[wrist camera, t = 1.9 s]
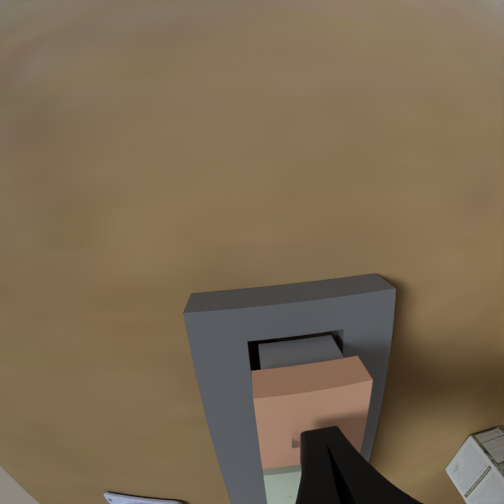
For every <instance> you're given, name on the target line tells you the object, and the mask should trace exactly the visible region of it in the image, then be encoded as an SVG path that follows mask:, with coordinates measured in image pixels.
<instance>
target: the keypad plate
mask: <svg viewBox="0 0 504 504" xmlns="http://www.w3.org/2000/svg"><path fill="white" fill-rule="evenodd" d="M395 297H396V288H395V287H394V286H392V285H391V284H390V283H388V282H387V281H386V280H384V279H383V278H382V277H380V276H379V275H377V274H376V273H375V274H368V275H360V276H353V277H345V278H337V279H329V280H320V281H312V282H303V283H294V284H285V285H276V286H267V287H257V288H247V289H237V290H226V291H215V292H204V293H192V294H191V295H190V298H189V300H188V303H187V305H186V307H185V310H184V312H183V314H184V320H185V325H186V330H187V335H188V340H189V345H190V350H191V354H192V359H193V364H194V368H195V373H196V377H197V382H198V386H199V390H200V394H201V398H202V403H203V407H204V411H205V415H206V419H207V422H208V426H209V430H210V434H211V437H212V441H213V445H214V448H215V452H216V455H217V459H218V462H219V466H220V469H221V472H222V476H223V479H224V482H225V485H226V489H227V492H228V495H229V498H230V501H231V504H267V498H266V491H265V484H264V477H263V469H262V462H261V455H260V447H259V440H258V432H257V424H256V417H255V409H254V401H253V388H252V373H251V371H252V367H251V358H250V349H249V341H256V340H265V339H275V338H283V337H291V336H299V335H307V334H314V333H321V332H328V331H330V335H331V336H332V337H333V339H334V341H335V343H336V345H337V346H338V348H339V350H340V352H341V353H342V355H343V357H344V358H348V357H353V356H358V357H359V359H360V360H361V362H362V363H363V365H364V367H365V368H366V370H367V371H368V373H369V375H370V376H371V378H372V379H373V382H372V389H371V396H370V403H369V409H368V415H367V421H366V426H365V431H364V437H363V442H362V446H361V451H360V454H361V455H362V456H363V458H364V459H365V460H366V461H367V462H368V463H369V459H370V455H371V451H372V447H373V443H374V439H375V435H376V430H377V426H378V421H379V416H380V412H381V406H382V401H383V396H384V390H385V384H386V378H387V371H388V364H389V357H390V349H391V341H392V332H393V322H394V311H395Z"/></svg>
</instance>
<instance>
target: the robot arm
mask: <svg viewBox="0 0 504 504" xmlns="http://www.w3.org/2000/svg"><path fill="white" fill-rule="evenodd" d="M300 463H301V479H300V484H299V489H298V494H297V499H296V502H295V504H423V503H421V502H419V501H417V500H415V499H414V498H412V497H410V496H409V495H407V494H406V493H404V492H403V491H401V490H400V489H399V488H397V487H396V486H394V485H393V484H392V483H391V482H389V481H388V480H387V479H386V478H384V477H383V476H382V475H381V474H380V473H379V472H378V471H377V470H376V469H374V468H373V467H372V466H371V465H370V464H369V463H368V462H367V461H366V460H365V459H364V458H363V456H362V455H361V454H360V453H359V452H358V451H357V450H356V449H355V448H354V446H353V445H352V444H351V443H350V442H349V440H348V439H347V438H346V437H345V435H344V434H343V433H342V431H341V430H340V428H339V427H338V426H331V427H325V428H320V429H314V430H308V431H303V432H302V433H301V434H300ZM104 497H105V498H106V499H107V501H108V502H109V503H110V504H182V503H181V502H179V501H171V500H159V499H149V498H140V497H133V496H126V495H120V494H114V493H108V492H106V493H104Z"/></svg>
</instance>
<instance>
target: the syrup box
mask: <svg viewBox="0 0 504 504" xmlns="http://www.w3.org/2000/svg"><path fill="white" fill-rule="evenodd" d="M445 471H446V472H447V474H448V475H449V477H450V478H451V480H452V481H453V483H454V484H455V486H456V488H457V489H458V491H459V492H460V494H461V495H462V497H463V499H464V500H465V502H466V504H504V431H503V430H502V429H501V428H500V427H496V428H493V429H490V430H487V431H483V432H480V433H477V434H473V435H470V436H469V437H468V439H467V440H466V441H465V443H464V444H463V445H462V447H461V448H460V449H459V451H458V452H457V453H456V455H455V456H454V458H453V459H452V460H451V462H450V463H449V464H448V466H447V467H446V468H445Z"/></svg>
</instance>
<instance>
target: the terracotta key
mask: <svg viewBox="0 0 504 504" xmlns="http://www.w3.org/2000/svg"><path fill="white" fill-rule="evenodd" d="M258 346H259V356H260V366H261V370H254V371H251V373H252V388H253V401H254V409H255V417H256V424H257V432H258V440H259V447H260V455H261V462H262V469H266V468H276V467H284V466H292V465H299V464H301V463H300V434H301V433H302V432H303V431H308V430H314V429H320V428H325V427H331V426H338V427H339V428H340V430H341V431H342V433H343V434H344V435H345V437H346V438H347V439H348V440H349V442H350V443H351V444H352V445H353V446H354V448H355V449H356V450H357V451H358V452H359V453H360V451H361V446H362V442H363V437H364V431H365V426H366V421H367V415H368V409H369V403H370V396H371V389H372V382H373V379H372V378H371V376H370V375H369V373H368V371H367V370H366V368H365V367H364V365H363V363H362V362H361V360H360V359H359V357H358V356H353V357H348V358H344V357H343V355H342V353H341V352H340V350H339V348H338V346H337V345H336V343H335V341H334V339H333V337H332V336H331V335H327V336H320V337H313V338H306V339H298V340H291V341H282V342H274V343H265V344H258Z"/></svg>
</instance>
